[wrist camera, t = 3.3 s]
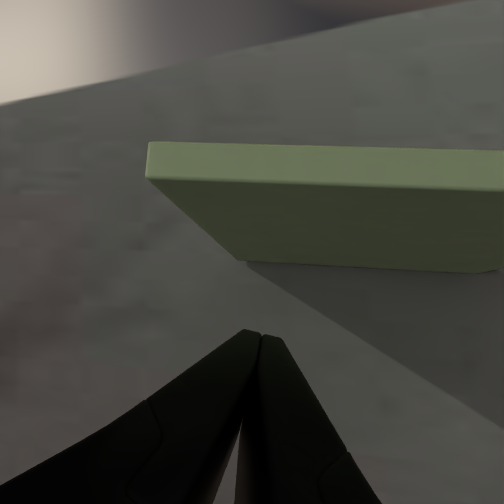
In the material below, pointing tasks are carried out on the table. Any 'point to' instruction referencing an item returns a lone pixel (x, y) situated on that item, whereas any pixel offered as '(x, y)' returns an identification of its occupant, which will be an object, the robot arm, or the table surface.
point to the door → (341, 203)
